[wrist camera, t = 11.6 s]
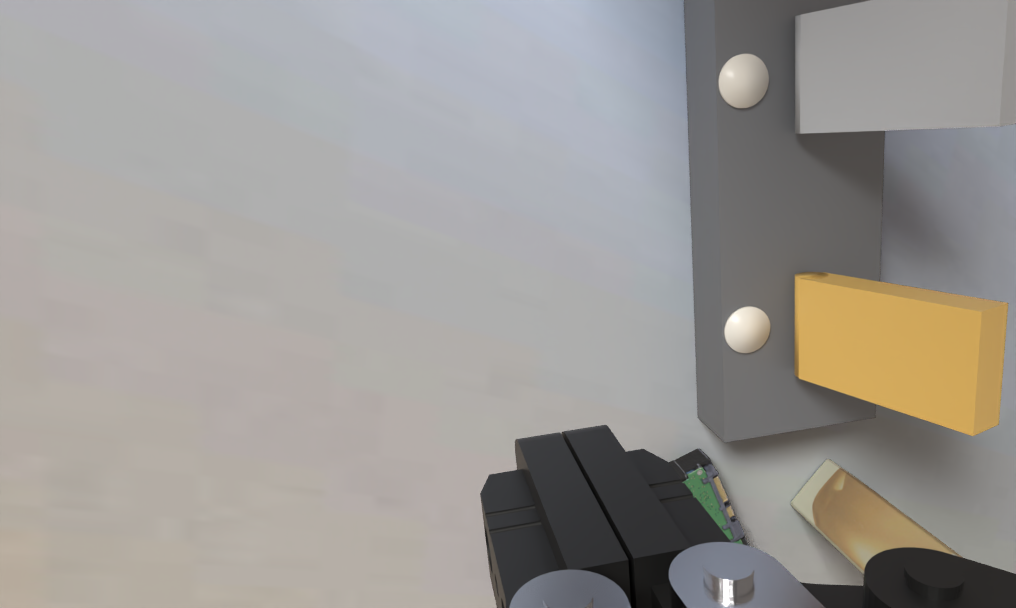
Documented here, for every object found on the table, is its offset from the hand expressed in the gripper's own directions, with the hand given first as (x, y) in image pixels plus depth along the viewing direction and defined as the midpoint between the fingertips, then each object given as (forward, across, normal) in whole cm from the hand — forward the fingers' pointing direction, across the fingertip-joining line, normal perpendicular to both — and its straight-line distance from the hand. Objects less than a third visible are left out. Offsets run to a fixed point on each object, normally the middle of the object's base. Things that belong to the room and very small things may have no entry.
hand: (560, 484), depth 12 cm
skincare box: (+31, -25, +23) cm, 47 cm away
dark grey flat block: (+32, -20, +1) cm, 38 cm away
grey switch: (+27, -20, -6) cm, 34 cm away
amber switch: (+26, -20, +8) cm, 34 cm away
